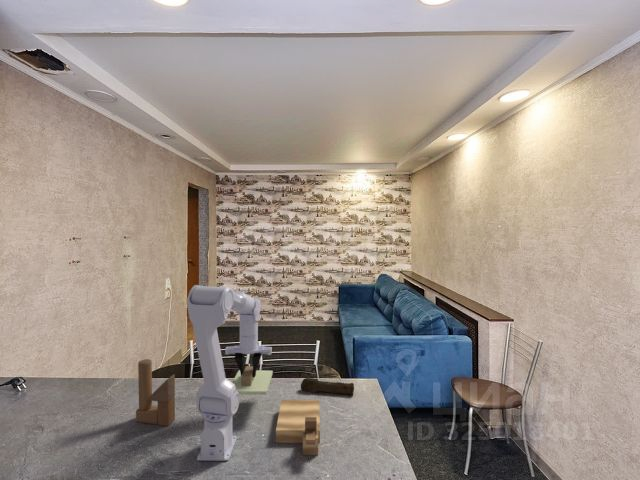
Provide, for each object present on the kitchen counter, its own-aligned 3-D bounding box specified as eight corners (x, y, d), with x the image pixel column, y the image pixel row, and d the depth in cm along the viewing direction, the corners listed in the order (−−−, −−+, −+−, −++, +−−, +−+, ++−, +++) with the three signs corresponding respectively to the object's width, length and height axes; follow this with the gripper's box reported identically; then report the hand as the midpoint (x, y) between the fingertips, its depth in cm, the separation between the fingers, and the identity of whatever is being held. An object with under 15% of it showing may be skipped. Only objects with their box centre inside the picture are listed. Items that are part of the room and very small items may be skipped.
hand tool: (354, 392, 124) (354, 379, 124) (353, 397, 120) (353, 384, 120) (302, 387, 128) (302, 374, 127) (300, 392, 124) (300, 379, 123)
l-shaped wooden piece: (316, 444, 87) (316, 430, 87) (304, 444, 87) (304, 430, 87) (316, 430, 93) (316, 417, 93) (305, 430, 93) (305, 417, 93)
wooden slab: (320, 455, 90) (320, 438, 90) (273, 454, 90) (273, 438, 90) (319, 410, 111) (319, 397, 111) (281, 410, 111) (281, 396, 111)
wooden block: (168, 426, 101) (167, 366, 101) (135, 422, 104) (134, 363, 103) (175, 419, 105) (175, 361, 104) (144, 415, 107) (143, 358, 106)
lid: (266, 394, 104) (266, 381, 104) (227, 394, 104) (227, 381, 104) (272, 373, 120) (272, 361, 120) (238, 373, 120) (238, 361, 119)
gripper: (273, 330, 115) (272, 370, 116) (229, 330, 115) (229, 370, 116) (270, 337, 108) (269, 380, 109) (223, 337, 108) (223, 380, 109)
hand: (248, 375), depth 112 cm, fingers closed on lid, 3 cm apart
